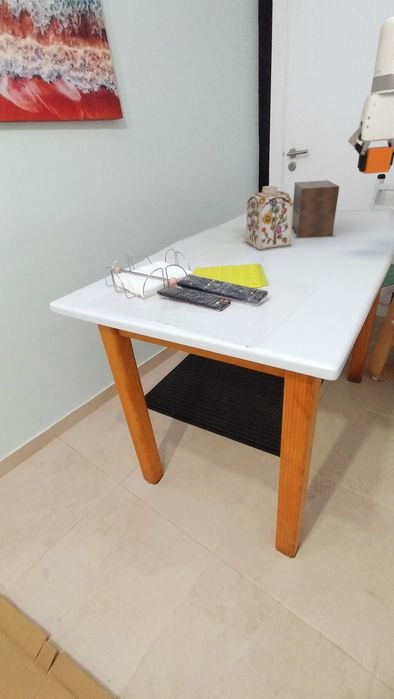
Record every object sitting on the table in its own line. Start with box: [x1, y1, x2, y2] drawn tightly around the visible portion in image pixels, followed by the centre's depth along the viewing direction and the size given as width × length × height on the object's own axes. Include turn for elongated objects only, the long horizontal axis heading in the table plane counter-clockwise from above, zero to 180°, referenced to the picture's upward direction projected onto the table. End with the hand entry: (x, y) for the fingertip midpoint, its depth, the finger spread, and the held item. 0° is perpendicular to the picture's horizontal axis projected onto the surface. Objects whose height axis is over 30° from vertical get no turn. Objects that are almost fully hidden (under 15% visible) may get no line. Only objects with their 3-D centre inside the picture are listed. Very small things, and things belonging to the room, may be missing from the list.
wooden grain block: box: [292, 179, 340, 238], centre depth 123 cm, size 12×17×16 cm
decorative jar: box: [245, 185, 293, 251], centre depth 112 cm, size 12×12×18 cm
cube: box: [359, 145, 393, 175], centre depth 89 cm, size 6×6×6 cm
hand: (373, 169), depth 91 cm, fingers closed on cube, 5 cm apart
